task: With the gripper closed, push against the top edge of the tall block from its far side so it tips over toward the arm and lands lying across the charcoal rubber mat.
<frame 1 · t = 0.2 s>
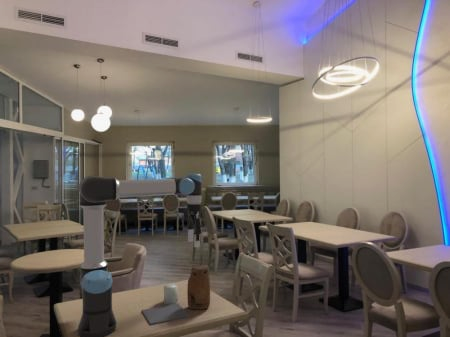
hand: (193, 244, 176), 29 cm above the table, fingers open, 13 cm apart
block: (198, 307, 166), on the table
grey cylinder: (170, 301, 173), on the table
mat: (165, 313, 158), on the table
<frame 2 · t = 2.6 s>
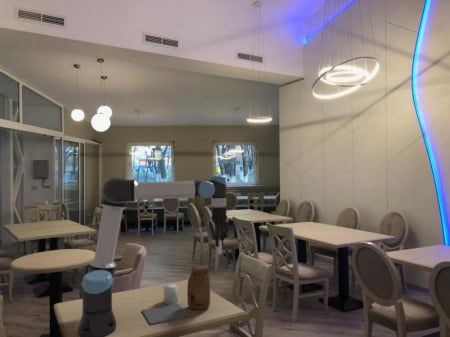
hand: (219, 252, 171), 25 cm above the table, fingers closed
nothing on the table moved.
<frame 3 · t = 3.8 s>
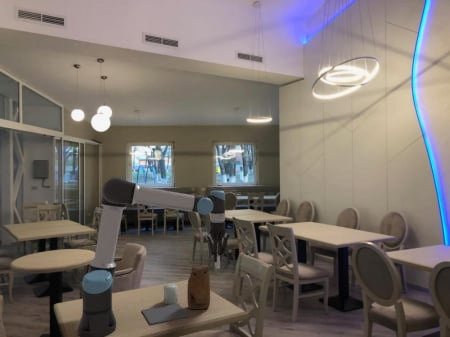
hand: (217, 268, 170), 18 cm above the table, fingers closed
nothing on the table moved.
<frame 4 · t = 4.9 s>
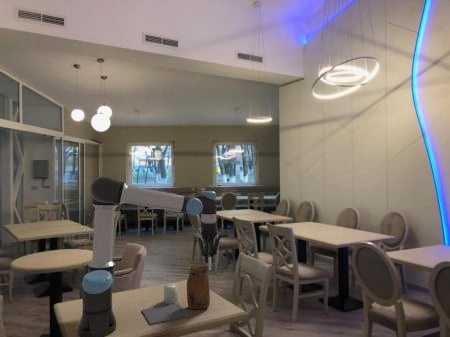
hand: (208, 269, 168), 18 cm above the table, fingers closed
block: (198, 307, 166), on the table, touching gripper
everything else where it was.
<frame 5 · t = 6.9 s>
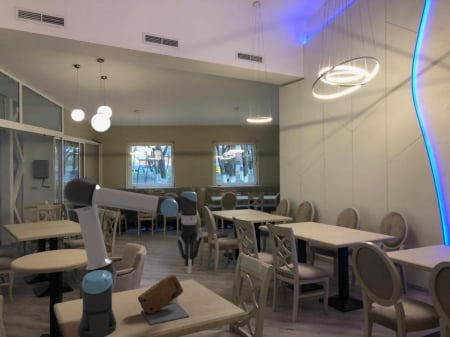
hand: (189, 272, 163), 18 cm above the table, fingers closed
block: (178, 282, 166), point 12 cm above the table, touching mat
everything else where it was.
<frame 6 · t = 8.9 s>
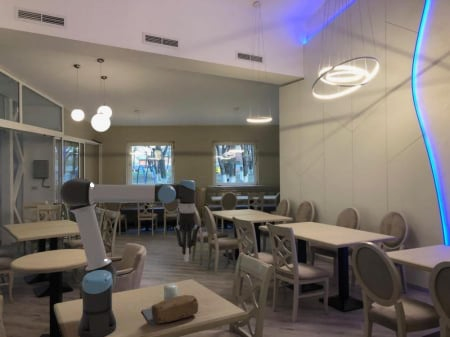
hand: (186, 260, 163), 23 cm above the table, fingers closed
block: (194, 302, 160), point 5 cm above the table, touching mat
everything else where it was.
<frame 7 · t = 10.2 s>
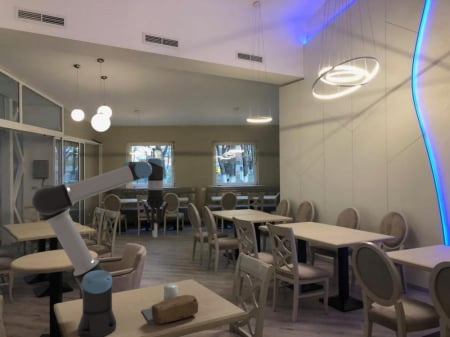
hand: (155, 236, 167), 34 cm above the table, fingers closed
nothing on the table moved.
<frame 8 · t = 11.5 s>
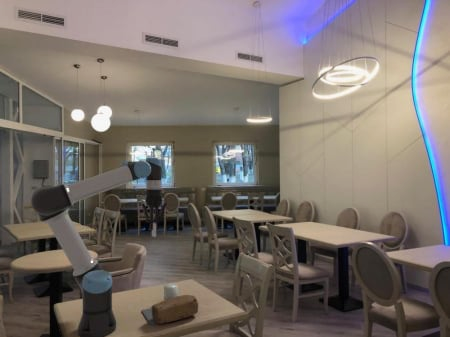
hand: (153, 236, 168), 34 cm above the table, fingers closed
nothing on the table moved.
at the end: block tilted 92°; block inside the target area (6.4 cm from its centre), point 4.6 cm above the table; the gripper is holding nothing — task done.
